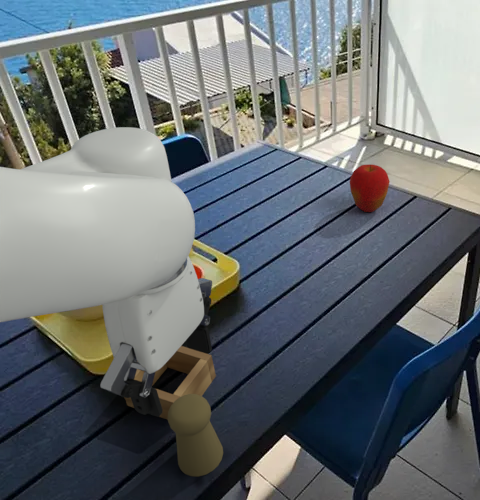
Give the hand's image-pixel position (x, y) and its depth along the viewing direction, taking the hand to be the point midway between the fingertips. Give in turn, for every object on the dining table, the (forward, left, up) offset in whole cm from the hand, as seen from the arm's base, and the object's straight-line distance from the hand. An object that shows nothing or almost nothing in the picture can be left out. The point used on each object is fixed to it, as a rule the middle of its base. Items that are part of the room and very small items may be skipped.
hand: (176, 378), depth 58 cm
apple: (+71, -2, -17) cm, 73 cm away
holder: (+9, +10, -17) cm, 22 cm away
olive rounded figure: (+1, 0, -17) cm, 17 cm away
